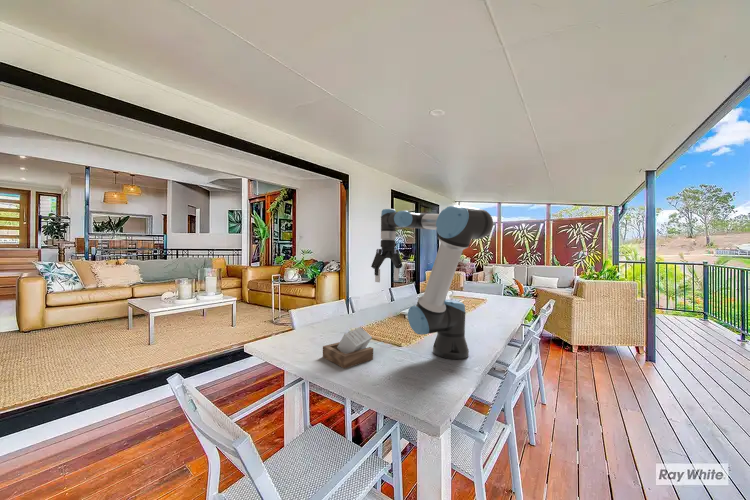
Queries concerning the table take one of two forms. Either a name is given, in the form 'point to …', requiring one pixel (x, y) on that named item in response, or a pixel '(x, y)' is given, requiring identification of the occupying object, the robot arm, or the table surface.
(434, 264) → the robot arm
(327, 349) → the u rest
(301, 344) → the table surface
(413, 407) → the table surface
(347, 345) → the supplement box
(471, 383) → the table surface
